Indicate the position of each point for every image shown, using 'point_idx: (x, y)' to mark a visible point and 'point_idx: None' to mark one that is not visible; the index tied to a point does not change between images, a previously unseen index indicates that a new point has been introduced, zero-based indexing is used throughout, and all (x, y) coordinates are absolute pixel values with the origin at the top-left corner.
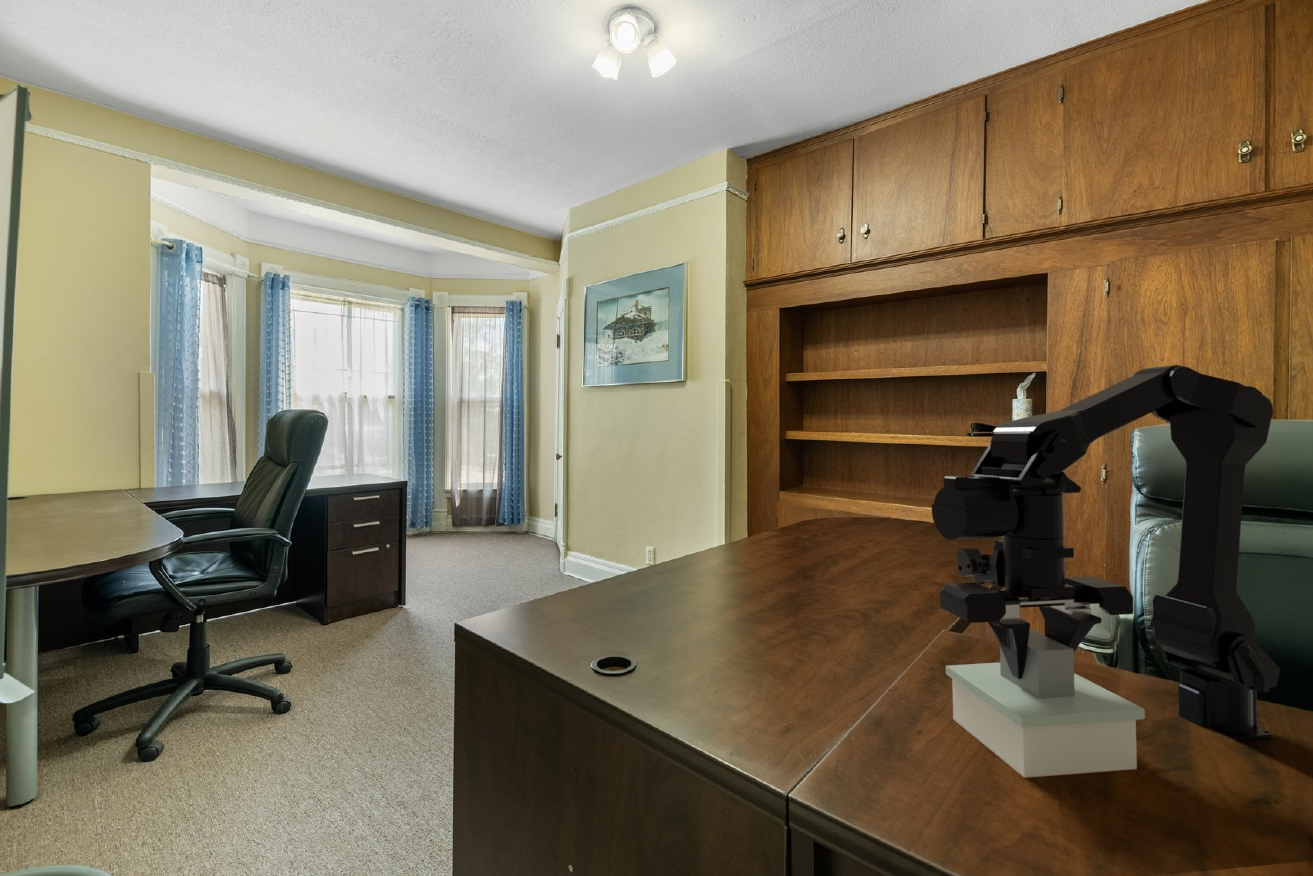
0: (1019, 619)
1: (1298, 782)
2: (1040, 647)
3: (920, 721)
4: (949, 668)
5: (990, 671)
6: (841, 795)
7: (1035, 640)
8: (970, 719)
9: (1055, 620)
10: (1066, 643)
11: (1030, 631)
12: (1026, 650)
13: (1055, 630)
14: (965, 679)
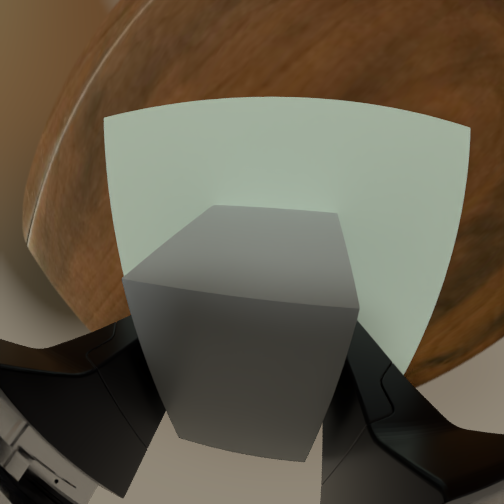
0: (93, 486)
1: (498, 338)
2: (204, 435)
3: (148, 102)
4: (104, 136)
5: (200, 169)
6: (49, 259)
7: (235, 407)
8: None
9: (347, 496)
10: (323, 450)
11: (320, 327)
12: (164, 408)
13: (344, 452)
14: (112, 212)
